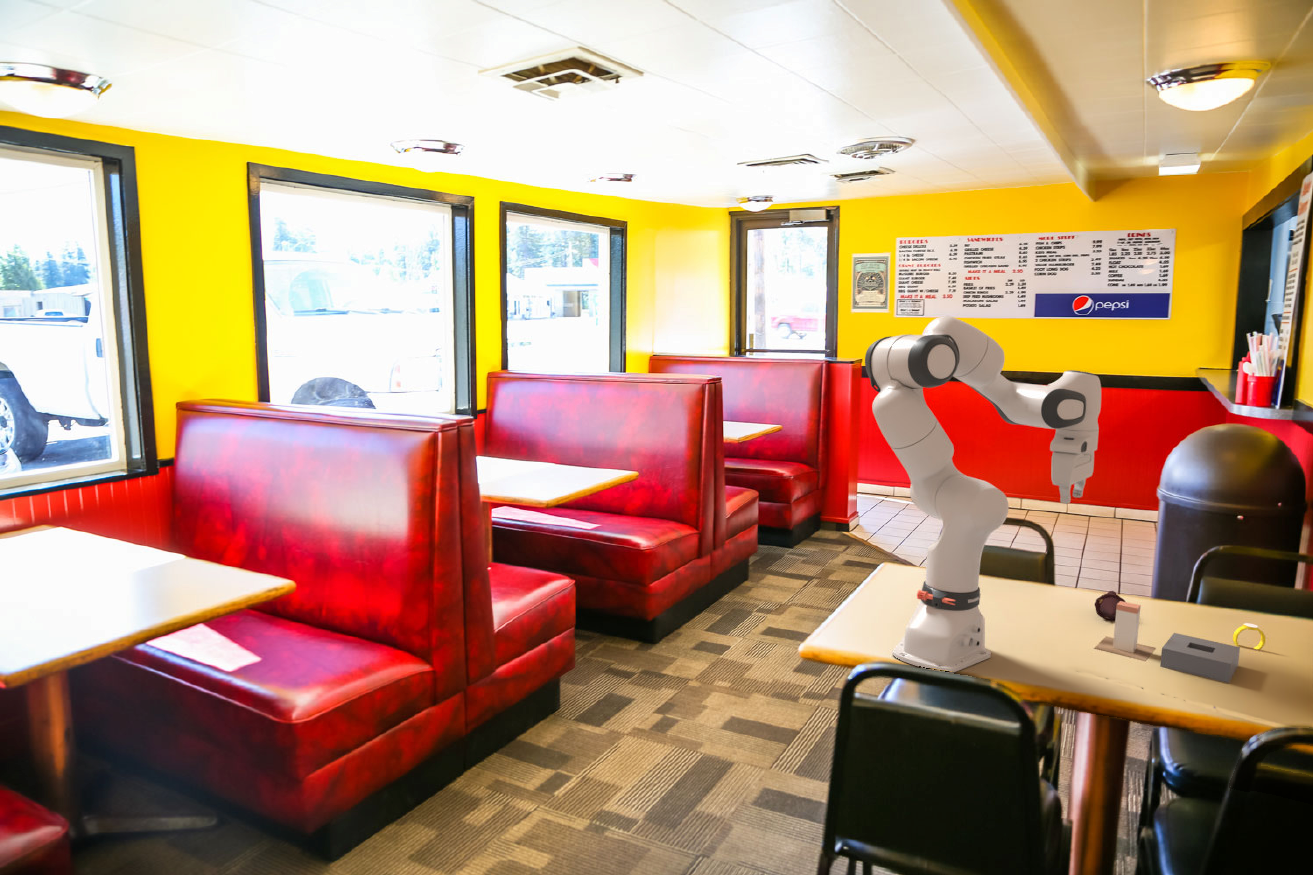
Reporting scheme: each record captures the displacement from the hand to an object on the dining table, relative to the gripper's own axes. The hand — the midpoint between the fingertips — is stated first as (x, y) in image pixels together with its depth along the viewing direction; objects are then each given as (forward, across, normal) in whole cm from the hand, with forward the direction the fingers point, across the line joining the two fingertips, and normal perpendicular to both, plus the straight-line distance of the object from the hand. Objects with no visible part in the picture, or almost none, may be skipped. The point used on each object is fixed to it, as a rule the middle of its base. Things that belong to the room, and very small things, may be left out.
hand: (1071, 500), depth 196 cm
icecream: (+31, -15, +7) cm, 35 cm away
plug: (+30, +6, +15) cm, 34 cm away
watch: (+31, -15, +35) cm, 49 cm away
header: (+31, +6, +29) cm, 43 cm away
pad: (+31, +6, +15) cm, 35 cm away
